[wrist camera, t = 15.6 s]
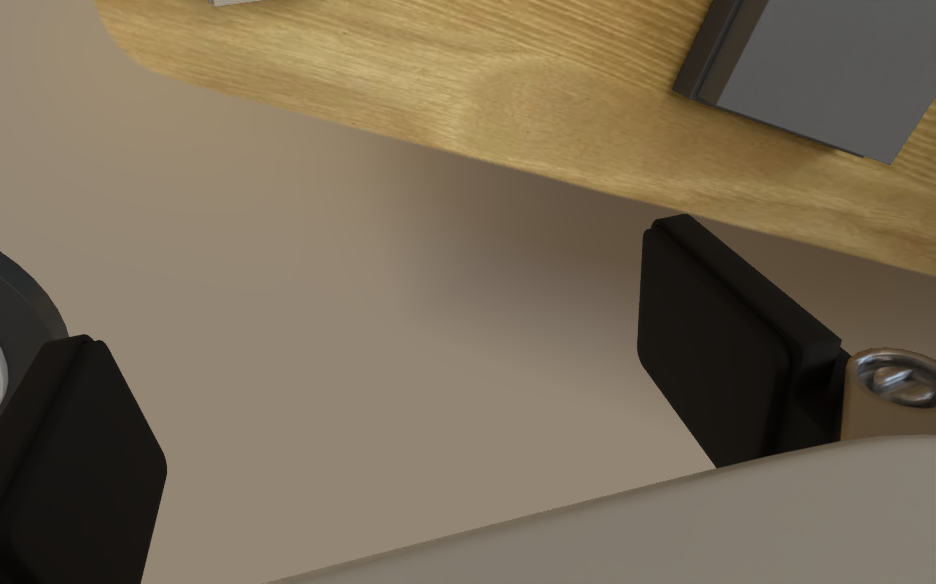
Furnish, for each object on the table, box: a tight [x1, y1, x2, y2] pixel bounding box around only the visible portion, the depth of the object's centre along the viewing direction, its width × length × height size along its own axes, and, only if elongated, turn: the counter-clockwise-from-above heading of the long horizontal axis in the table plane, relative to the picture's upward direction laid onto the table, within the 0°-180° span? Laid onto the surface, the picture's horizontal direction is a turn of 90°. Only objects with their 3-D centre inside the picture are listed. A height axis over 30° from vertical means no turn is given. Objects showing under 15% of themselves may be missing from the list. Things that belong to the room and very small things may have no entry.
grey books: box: [672, 0, 936, 165], centre depth 39 cm, size 15×10×4 cm, turn 71°
